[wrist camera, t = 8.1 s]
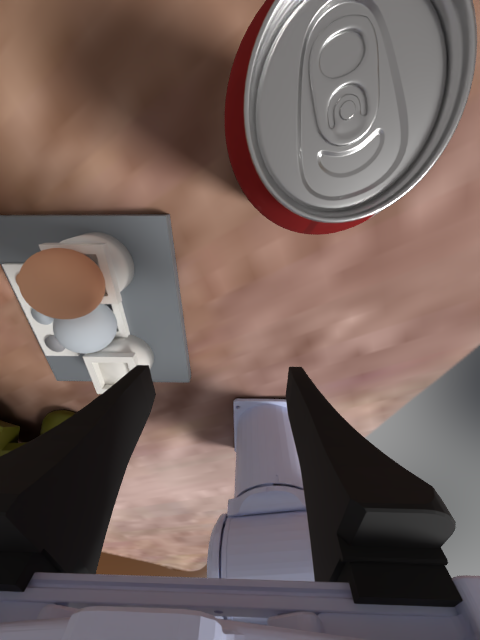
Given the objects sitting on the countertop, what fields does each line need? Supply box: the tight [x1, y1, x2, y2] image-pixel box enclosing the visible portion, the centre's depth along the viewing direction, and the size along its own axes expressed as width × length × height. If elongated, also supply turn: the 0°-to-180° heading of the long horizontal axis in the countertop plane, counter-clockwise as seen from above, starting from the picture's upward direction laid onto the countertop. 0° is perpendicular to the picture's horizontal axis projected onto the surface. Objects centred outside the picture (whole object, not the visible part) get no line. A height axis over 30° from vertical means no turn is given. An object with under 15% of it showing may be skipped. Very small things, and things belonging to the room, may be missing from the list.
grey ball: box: [53, 304, 117, 354], centre depth 20 cm, size 4×4×4 cm
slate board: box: [0, 214, 191, 382], centre depth 22 cm, size 16×14×2 cm
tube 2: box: [83, 335, 154, 394], centre depth 22 cm, size 5×5×3 cm
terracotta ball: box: [18, 248, 105, 319], centre depth 15 cm, size 4×4×4 cm
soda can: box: [225, 0, 477, 234], centre depth 11 cm, size 7×7×12 cm
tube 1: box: [39, 232, 134, 304], centre depth 18 cm, size 5×5×3 cm
